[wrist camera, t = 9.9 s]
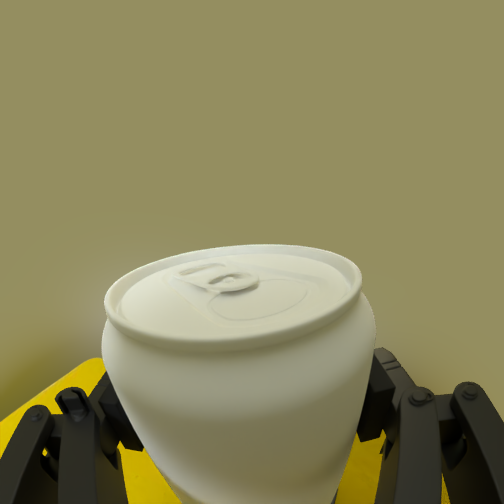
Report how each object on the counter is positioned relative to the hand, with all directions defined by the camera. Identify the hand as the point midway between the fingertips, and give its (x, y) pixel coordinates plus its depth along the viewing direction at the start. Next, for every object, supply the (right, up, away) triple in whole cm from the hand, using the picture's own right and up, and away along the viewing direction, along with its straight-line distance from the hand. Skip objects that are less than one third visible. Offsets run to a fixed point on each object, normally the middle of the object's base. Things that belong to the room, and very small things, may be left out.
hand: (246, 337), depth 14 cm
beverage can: (+1, -8, -3) cm, 9 cm away
